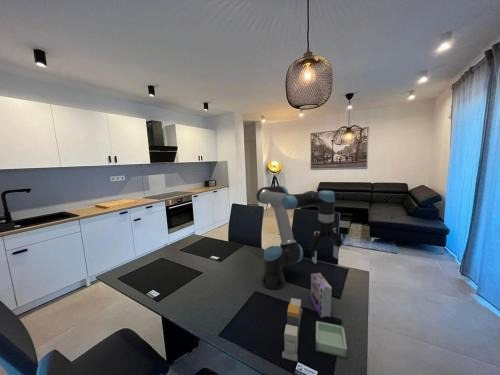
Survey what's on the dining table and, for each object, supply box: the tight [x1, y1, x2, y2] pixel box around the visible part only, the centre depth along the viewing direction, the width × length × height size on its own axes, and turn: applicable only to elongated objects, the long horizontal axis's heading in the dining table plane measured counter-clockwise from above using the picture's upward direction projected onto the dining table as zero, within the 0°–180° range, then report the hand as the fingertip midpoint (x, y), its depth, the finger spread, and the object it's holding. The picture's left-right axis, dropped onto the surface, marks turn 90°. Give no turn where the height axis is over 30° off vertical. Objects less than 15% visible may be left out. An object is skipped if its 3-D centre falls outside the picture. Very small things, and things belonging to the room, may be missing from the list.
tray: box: [315, 320, 348, 359], centre depth 92 cm, size 12×12×4 cm
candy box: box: [310, 272, 333, 318], centre depth 112 cm, size 14×6×16 cm, turn 5°
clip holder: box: [281, 307, 303, 363], centre depth 97 cm, size 6×28×6 cm, turn 162°
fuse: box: [286, 303, 301, 339], centre depth 97 cm, size 5×5×12 cm
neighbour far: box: [289, 297, 302, 321], centre depth 106 cm, size 5×5×9 cm
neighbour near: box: [283, 323, 299, 356], centre depth 89 cm, size 5×5×9 cm
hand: (325, 259), depth 110 cm, fingers open, 13 cm apart
